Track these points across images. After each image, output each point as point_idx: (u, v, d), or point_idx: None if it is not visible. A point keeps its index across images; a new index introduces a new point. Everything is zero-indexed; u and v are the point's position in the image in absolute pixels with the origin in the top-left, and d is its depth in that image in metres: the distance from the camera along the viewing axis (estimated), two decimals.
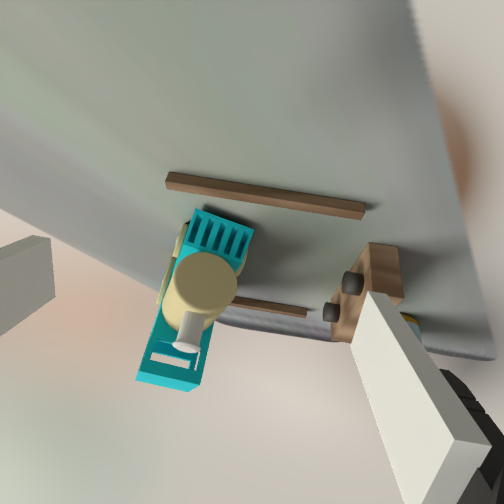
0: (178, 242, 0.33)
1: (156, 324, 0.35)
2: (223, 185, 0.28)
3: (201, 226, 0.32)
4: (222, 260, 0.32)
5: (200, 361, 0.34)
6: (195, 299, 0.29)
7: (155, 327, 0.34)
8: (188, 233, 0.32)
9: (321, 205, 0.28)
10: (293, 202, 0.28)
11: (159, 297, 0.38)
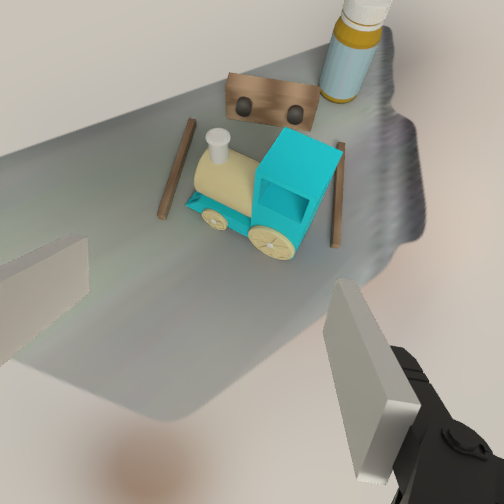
0: (203, 210, 0.41)
1: (253, 199, 0.34)
2: None
3: (194, 197, 0.43)
4: None
5: None
6: None
7: None
8: (194, 202, 0.42)
9: None
10: (179, 148, 0.47)
11: (263, 228, 0.37)
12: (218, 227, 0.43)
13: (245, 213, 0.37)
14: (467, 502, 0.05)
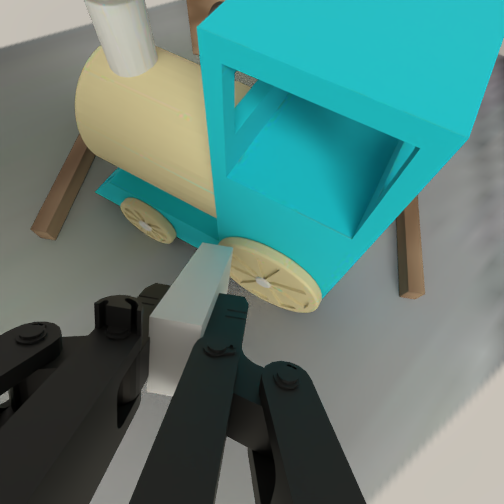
0: (122, 202, 0.19)
1: None
2: None
3: (111, 176, 0.21)
4: None
5: None
6: None
7: None
8: (105, 183, 0.20)
9: None
10: None
11: (247, 246, 0.15)
12: (159, 238, 0.21)
13: (202, 208, 0.15)
14: (214, 389, 0.07)
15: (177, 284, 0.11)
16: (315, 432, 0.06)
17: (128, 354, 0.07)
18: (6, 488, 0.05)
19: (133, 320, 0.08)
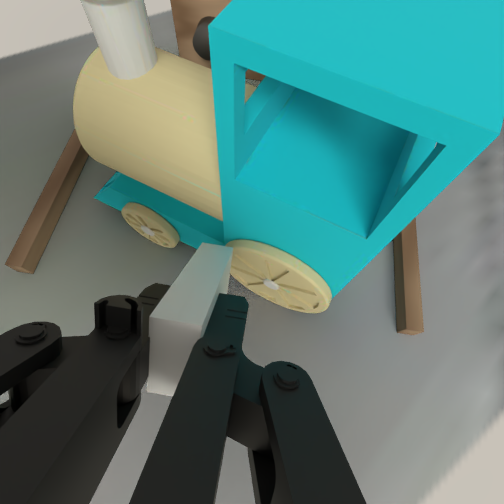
0: (123, 207, 0.19)
1: None
2: None
3: (110, 181, 0.20)
4: None
5: None
6: None
7: None
8: (105, 189, 0.19)
9: None
10: None
11: (255, 248, 0.15)
12: (161, 242, 0.20)
13: (208, 211, 0.15)
14: (214, 389, 0.07)
15: (177, 284, 0.11)
16: (315, 432, 0.06)
17: (128, 354, 0.07)
18: (7, 487, 0.05)
19: (133, 320, 0.08)
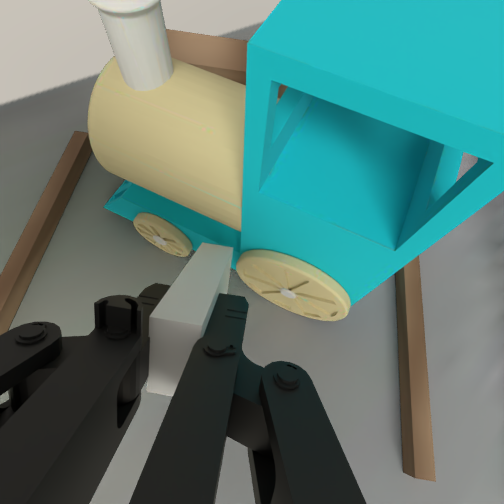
0: (135, 218, 0.18)
1: None
2: None
3: (120, 190, 0.20)
4: None
5: None
6: None
7: None
8: (115, 199, 0.19)
9: (53, 173, 0.22)
10: (39, 203, 0.21)
11: (274, 258, 0.14)
12: (173, 251, 0.20)
13: (226, 221, 0.15)
14: (214, 389, 0.07)
15: (177, 284, 0.11)
16: (315, 432, 0.06)
17: (128, 354, 0.07)
18: (7, 486, 0.05)
19: (133, 320, 0.08)
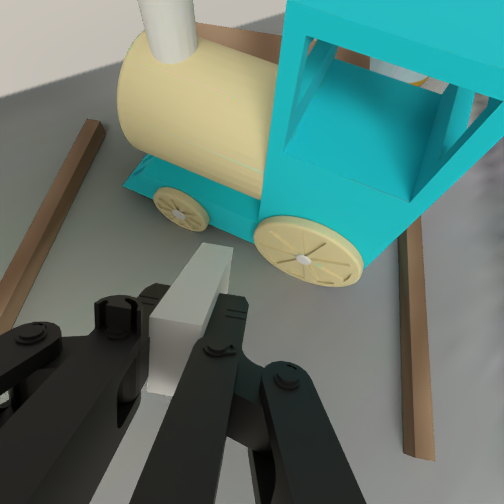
0: (156, 192, 0.19)
1: None
2: None
3: (138, 168, 0.21)
4: None
5: None
6: None
7: None
8: (136, 175, 0.20)
9: (66, 159, 0.22)
10: (52, 188, 0.21)
11: (293, 222, 0.15)
12: (191, 226, 0.21)
13: (247, 189, 0.16)
14: (214, 389, 0.07)
15: (177, 284, 0.11)
16: (315, 432, 0.06)
17: (128, 354, 0.07)
18: (7, 487, 0.05)
19: (133, 320, 0.08)
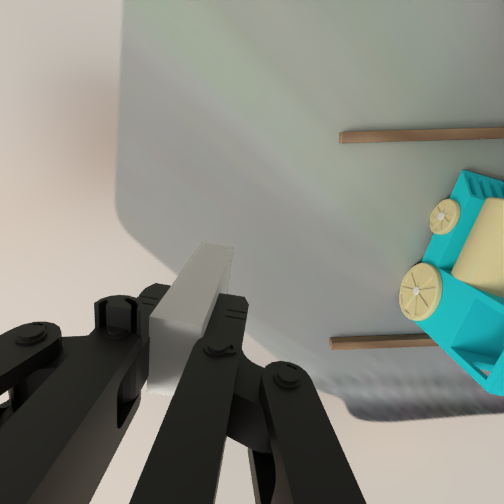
0: (456, 204, 0.32)
1: (481, 292, 0.27)
2: None
3: (475, 182, 0.32)
4: None
5: None
6: None
7: (484, 293, 0.27)
8: (468, 187, 0.32)
9: (483, 128, 0.31)
10: (458, 129, 0.31)
11: (438, 292, 0.31)
12: (433, 220, 0.35)
13: (457, 269, 0.30)
14: (215, 389, 0.07)
15: (177, 284, 0.11)
16: (315, 432, 0.06)
17: (128, 354, 0.07)
18: (6, 488, 0.05)
19: (133, 320, 0.08)
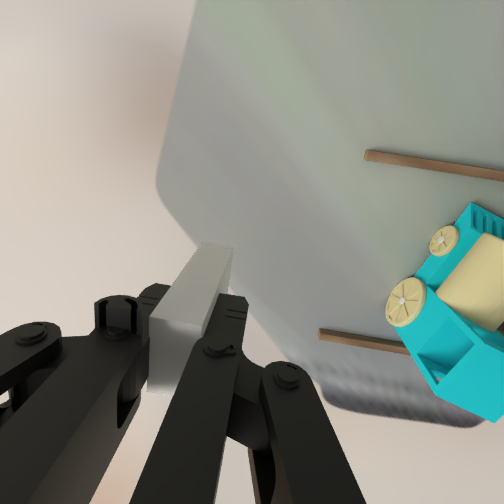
0: (456, 232, 0.35)
1: (454, 312, 0.31)
2: None
3: (479, 216, 0.35)
4: None
5: None
6: None
7: (456, 314, 0.30)
8: (471, 219, 0.35)
9: (497, 170, 0.34)
10: (474, 167, 0.34)
11: (420, 305, 0.35)
12: (433, 241, 0.38)
13: (441, 289, 0.34)
14: (215, 389, 0.07)
15: (177, 284, 0.11)
16: (315, 432, 0.06)
17: (128, 354, 0.07)
18: (6, 487, 0.05)
19: (133, 320, 0.08)
